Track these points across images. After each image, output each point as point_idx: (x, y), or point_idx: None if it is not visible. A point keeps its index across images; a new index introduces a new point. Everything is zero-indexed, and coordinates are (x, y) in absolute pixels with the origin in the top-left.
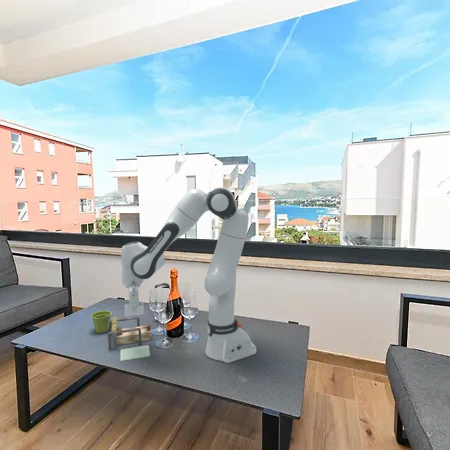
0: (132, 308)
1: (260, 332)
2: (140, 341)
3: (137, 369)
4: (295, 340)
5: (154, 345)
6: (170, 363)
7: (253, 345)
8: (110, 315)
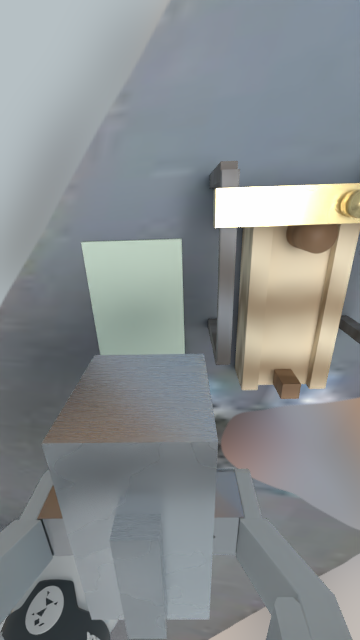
0: (7, 529)
1: None
2: (209, 331)
3: (17, 309)
4: None
5: None
6: (45, 410)
7: None
8: None
